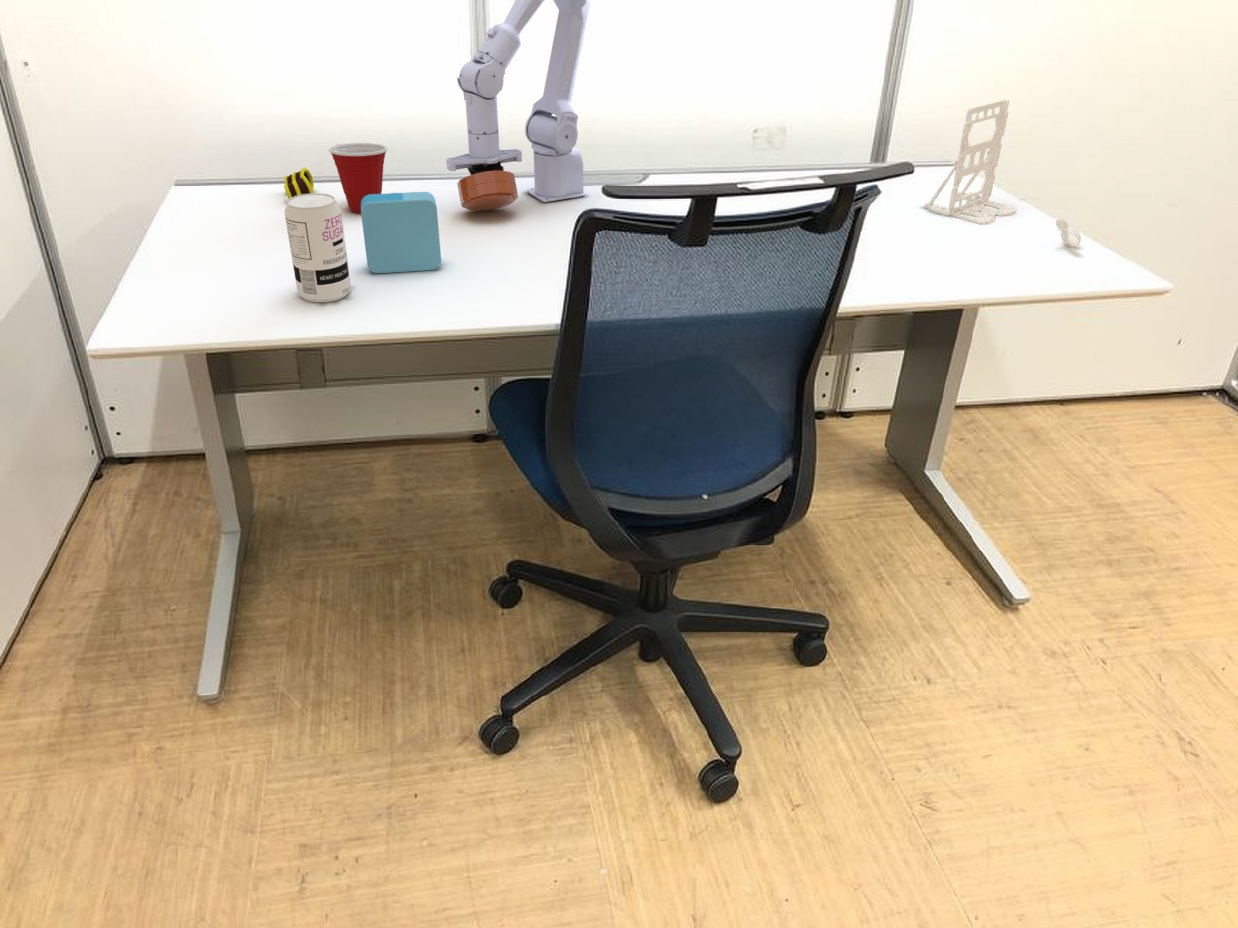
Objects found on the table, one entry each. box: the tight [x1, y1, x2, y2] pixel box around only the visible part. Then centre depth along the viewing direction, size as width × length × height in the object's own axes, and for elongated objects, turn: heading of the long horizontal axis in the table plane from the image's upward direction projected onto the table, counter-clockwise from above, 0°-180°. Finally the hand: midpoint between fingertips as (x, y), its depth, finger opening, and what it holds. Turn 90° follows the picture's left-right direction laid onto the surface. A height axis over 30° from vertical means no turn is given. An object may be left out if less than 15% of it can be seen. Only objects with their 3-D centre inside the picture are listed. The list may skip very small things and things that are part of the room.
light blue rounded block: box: [360, 191, 442, 274], centre depth 166 cm, size 12×4×12 cm, turn 102°
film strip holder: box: [923, 99, 1018, 225], centre depth 194 cm, size 14×14×20 cm
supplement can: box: [284, 192, 352, 303], centre depth 155 cm, size 8×8×15 cm
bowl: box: [456, 170, 519, 212], centre depth 191 cm, size 11×11×5 cm
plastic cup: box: [328, 142, 389, 214], centre depth 192 cm, size 11×11×12 cm
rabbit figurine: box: [1055, 218, 1082, 251], centre depth 181 cm, size 6×4×8 cm
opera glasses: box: [283, 167, 315, 200], centre depth 200 cm, size 10×5×5 cm, turn 15°
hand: (487, 203), depth 194 cm, fingers closed on bowl
